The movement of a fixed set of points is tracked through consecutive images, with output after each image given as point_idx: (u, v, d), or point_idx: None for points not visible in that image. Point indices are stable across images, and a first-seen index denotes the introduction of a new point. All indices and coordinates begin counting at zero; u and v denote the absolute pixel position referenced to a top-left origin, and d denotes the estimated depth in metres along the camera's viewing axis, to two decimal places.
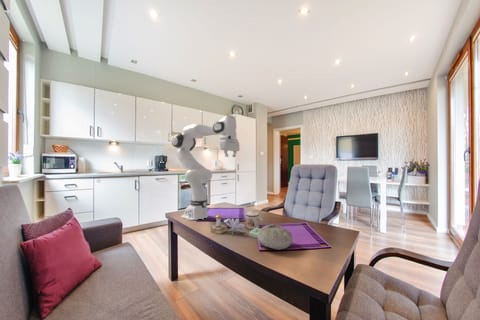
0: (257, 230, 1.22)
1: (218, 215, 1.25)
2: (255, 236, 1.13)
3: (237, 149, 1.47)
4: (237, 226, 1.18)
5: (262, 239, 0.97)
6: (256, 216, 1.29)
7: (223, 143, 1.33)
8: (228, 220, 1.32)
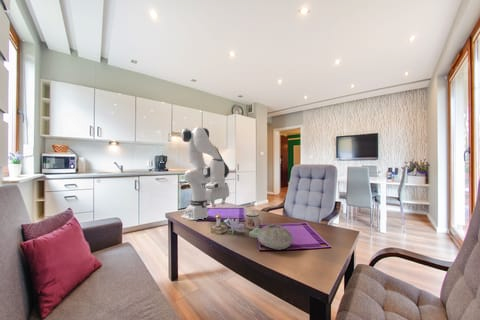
0: (257, 230, 1.22)
1: (218, 215, 1.25)
2: (255, 236, 1.13)
3: (226, 195, 1.30)
4: (237, 226, 1.18)
5: (262, 239, 0.97)
6: (256, 216, 1.29)
7: (209, 193, 1.16)
8: (228, 220, 1.32)
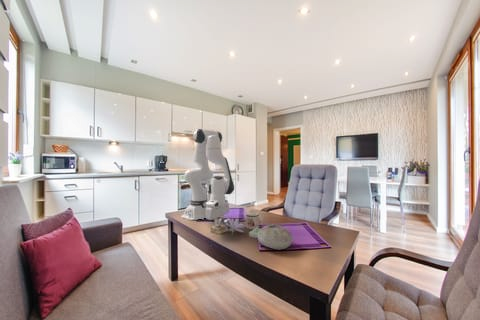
0: (257, 230, 1.22)
1: None
2: (255, 236, 1.13)
3: (226, 212, 1.30)
4: (237, 226, 1.18)
5: (262, 239, 0.97)
6: (256, 216, 1.29)
7: (209, 212, 1.16)
8: None
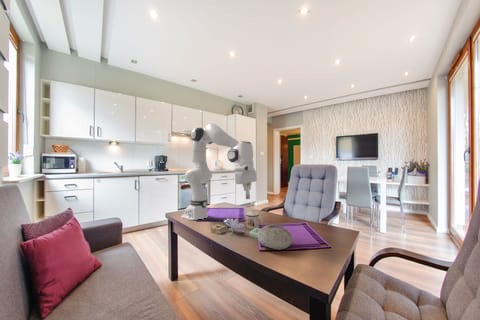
0: (257, 230, 1.22)
1: None
2: (255, 236, 1.13)
3: (254, 180, 1.24)
4: (236, 226, 1.18)
5: (262, 239, 0.97)
6: (256, 216, 1.29)
7: (239, 176, 1.11)
8: None
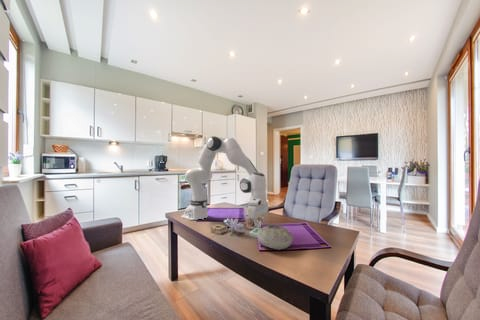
0: None
1: (258, 217, 1.18)
2: (255, 236, 1.13)
3: (266, 211, 1.22)
4: (236, 226, 1.18)
5: (262, 239, 0.97)
6: None
7: (252, 211, 1.09)
8: None
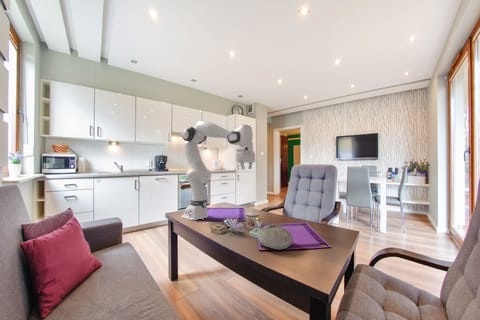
0: None
1: (258, 217, 1.18)
2: (255, 236, 1.13)
3: (253, 160, 1.38)
4: (235, 226, 1.18)
5: (262, 239, 0.97)
6: (256, 216, 1.29)
7: (240, 155, 1.24)
8: None
